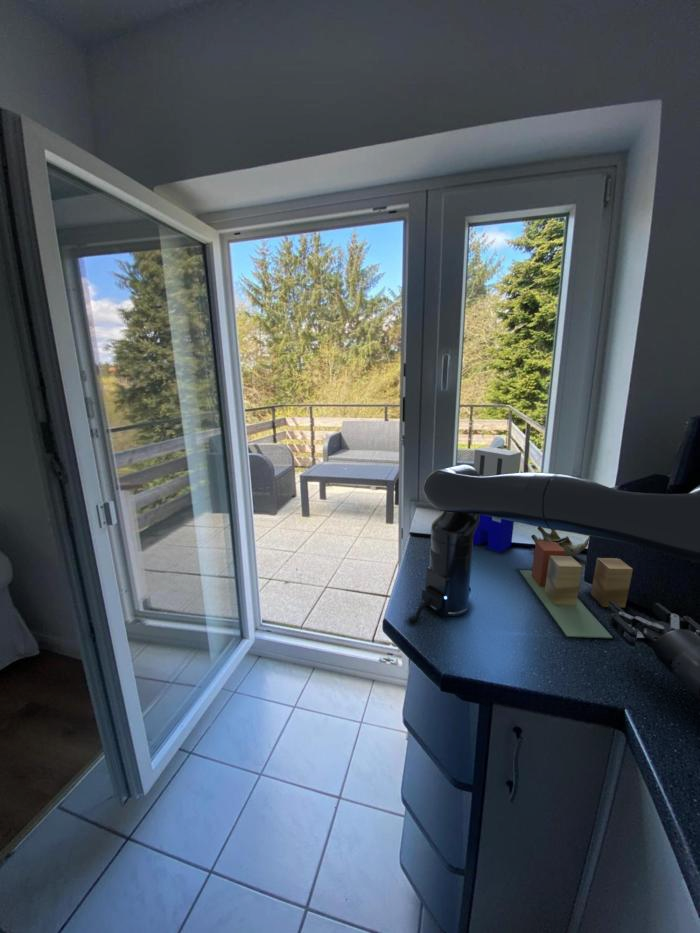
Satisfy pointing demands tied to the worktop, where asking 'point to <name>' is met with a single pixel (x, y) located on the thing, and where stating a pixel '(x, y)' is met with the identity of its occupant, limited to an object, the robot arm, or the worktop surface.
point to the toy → (493, 464)
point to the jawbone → (560, 542)
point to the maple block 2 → (611, 581)
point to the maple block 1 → (563, 580)
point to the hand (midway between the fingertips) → (632, 605)
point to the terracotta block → (544, 560)
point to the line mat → (569, 614)
